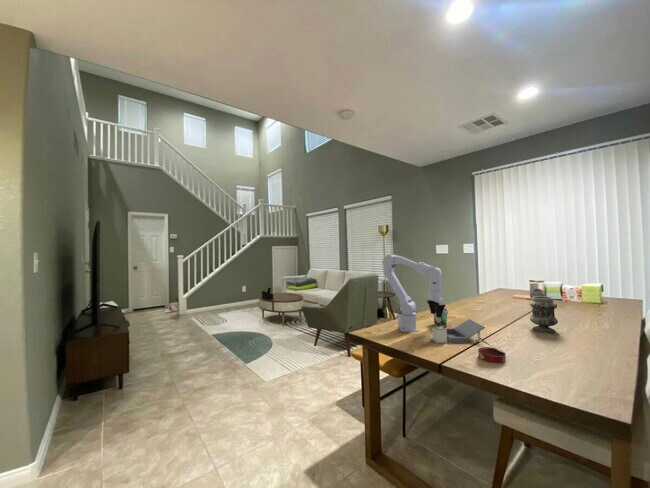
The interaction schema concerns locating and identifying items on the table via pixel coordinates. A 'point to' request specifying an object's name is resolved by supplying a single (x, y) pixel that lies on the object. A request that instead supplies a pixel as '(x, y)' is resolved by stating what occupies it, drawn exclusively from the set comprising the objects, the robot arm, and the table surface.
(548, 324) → the dark ornate urn
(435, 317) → the food container
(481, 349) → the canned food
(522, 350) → the table surface
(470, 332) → the case
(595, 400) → the table surface
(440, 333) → the module
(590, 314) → the table surface
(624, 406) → the table surface
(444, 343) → the pad
